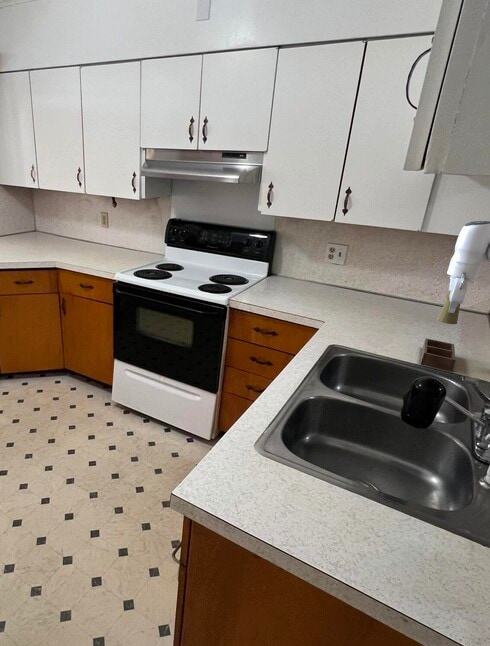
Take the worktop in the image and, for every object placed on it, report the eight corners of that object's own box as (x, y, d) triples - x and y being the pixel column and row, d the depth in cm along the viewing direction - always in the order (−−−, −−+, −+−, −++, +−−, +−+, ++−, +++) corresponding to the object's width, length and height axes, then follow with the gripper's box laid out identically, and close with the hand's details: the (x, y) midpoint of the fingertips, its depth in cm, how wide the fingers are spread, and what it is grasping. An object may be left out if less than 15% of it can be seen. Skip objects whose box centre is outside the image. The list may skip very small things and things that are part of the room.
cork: (447, 318, 152) (457, 288, 148) (461, 324, 146) (471, 293, 142) (433, 318, 151) (442, 288, 146) (446, 324, 145) (456, 293, 141)
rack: (450, 355, 155) (454, 344, 153) (451, 372, 141) (455, 360, 139) (422, 349, 159) (425, 338, 157) (420, 365, 145) (424, 352, 143)
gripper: (476, 277, 132) (462, 319, 137) (473, 267, 148) (460, 305, 153) (453, 274, 135) (440, 315, 140) (451, 264, 151) (440, 301, 156)
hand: (450, 310), depth 147 cm, fingers closed on cork, 4 cm apart
